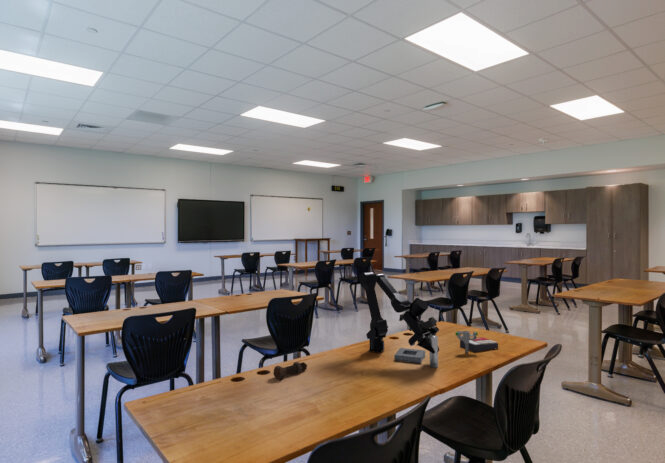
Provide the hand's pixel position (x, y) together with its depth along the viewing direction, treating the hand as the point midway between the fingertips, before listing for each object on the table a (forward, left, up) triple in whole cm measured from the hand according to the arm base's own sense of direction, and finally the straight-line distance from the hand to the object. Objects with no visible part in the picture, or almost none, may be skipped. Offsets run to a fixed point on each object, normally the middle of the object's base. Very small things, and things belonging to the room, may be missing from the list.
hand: (436, 351), depth 171 cm
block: (-13, +8, -7) cm, 17 cm away
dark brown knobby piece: (-55, -30, -7) cm, 63 cm away
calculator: (+16, +37, -7) cm, 41 cm away
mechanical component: (+11, +26, -7) cm, 29 cm away
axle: (-1, 0, -7) cm, 7 cm away
